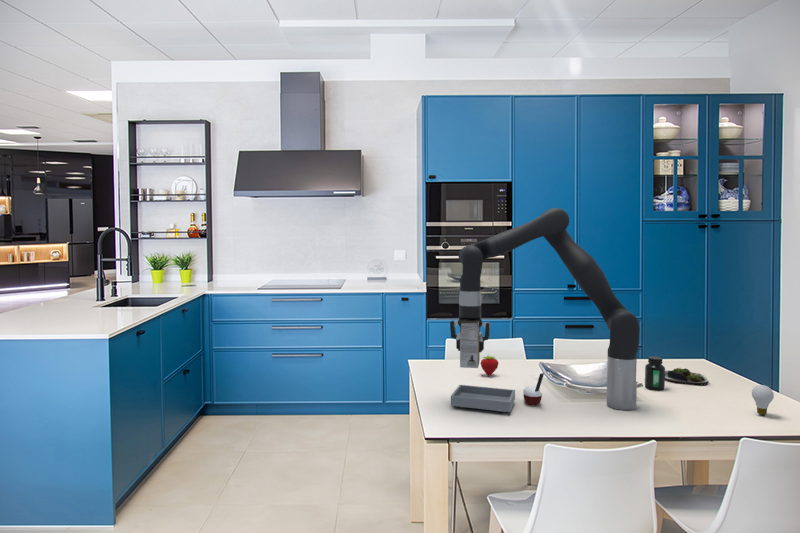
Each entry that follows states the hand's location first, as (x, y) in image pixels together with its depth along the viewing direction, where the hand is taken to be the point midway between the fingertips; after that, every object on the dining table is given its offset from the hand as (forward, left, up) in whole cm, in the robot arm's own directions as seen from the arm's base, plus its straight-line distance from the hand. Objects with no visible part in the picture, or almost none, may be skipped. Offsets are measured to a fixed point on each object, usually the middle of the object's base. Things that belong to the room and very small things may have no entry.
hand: (469, 351), depth 177 cm
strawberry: (-1, -38, -19) cm, 42 cm away
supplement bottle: (-64, -41, -19) cm, 78 cm away
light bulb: (-93, -20, -19) cm, 97 cm away
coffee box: (0, 0, -5) cm, 5 cm away
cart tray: (-5, 0, -19) cm, 19 cm away
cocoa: (-21, -7, -19) cm, 29 cm away
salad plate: (-77, -58, -19) cm, 98 cm away
